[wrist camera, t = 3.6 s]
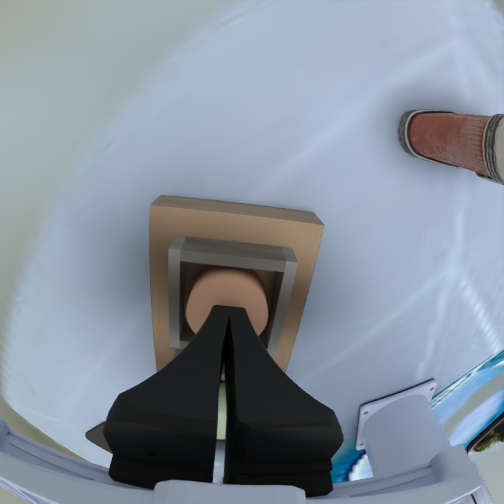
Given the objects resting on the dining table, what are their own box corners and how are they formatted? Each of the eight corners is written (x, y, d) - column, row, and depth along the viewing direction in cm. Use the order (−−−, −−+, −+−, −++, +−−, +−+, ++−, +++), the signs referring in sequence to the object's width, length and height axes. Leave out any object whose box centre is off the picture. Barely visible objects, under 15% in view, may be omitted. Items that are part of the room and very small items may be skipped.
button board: (255, 440, 24) (257, 471, 21) (171, 432, 23) (166, 463, 20) (314, 213, 15) (333, 237, 12) (161, 195, 14) (138, 215, 11)
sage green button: (244, 418, 17) (244, 441, 15) (188, 413, 17) (185, 435, 15) (251, 385, 15) (252, 409, 14) (187, 379, 15) (183, 403, 13)
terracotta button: (259, 326, 15) (261, 349, 14) (190, 319, 15) (185, 342, 13) (270, 265, 14) (274, 285, 12) (193, 257, 13) (187, 275, 12)
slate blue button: (234, 460, 20) (234, 478, 18) (191, 456, 19) (189, 474, 18) (239, 441, 18) (239, 461, 17) (189, 437, 18) (187, 457, 16)
